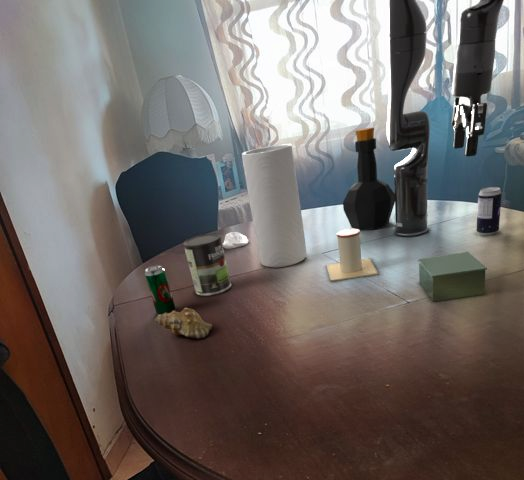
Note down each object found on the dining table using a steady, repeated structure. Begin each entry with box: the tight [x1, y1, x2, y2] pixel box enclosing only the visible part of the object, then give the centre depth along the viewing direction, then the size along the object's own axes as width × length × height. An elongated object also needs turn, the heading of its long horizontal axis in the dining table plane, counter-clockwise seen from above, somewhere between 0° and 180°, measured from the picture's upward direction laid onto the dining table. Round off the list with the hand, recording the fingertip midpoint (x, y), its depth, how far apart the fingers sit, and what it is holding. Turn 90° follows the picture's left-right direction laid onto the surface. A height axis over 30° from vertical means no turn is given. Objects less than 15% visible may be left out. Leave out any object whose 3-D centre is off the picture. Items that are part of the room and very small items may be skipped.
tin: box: [417, 251, 488, 303], centre depth 101 cm, size 11×11×6 cm
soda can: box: [144, 264, 177, 315], centre depth 117 cm, size 5×5×12 cm
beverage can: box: [475, 186, 503, 236], centre depth 127 cm, size 6×6×12 cm
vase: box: [241, 143, 307, 269], centre depth 132 cm, size 14×14×32 cm
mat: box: [326, 258, 379, 282], centre depth 123 cm, size 12×12×1 cm
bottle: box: [342, 126, 395, 231], centre depth 150 cm, size 16×16×30 cm
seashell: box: [154, 307, 213, 339], centre depth 105 cm, size 9×8×10 cm
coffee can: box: [182, 233, 232, 297], centre depth 126 cm, size 10×10×14 cm
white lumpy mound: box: [222, 231, 249, 249], centre depth 163 cm, size 10×4×10 cm
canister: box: [336, 228, 362, 273], centre depth 121 cm, size 6×6×10 cm
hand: (464, 151), depth 104 cm, fingers open, 8 cm apart
